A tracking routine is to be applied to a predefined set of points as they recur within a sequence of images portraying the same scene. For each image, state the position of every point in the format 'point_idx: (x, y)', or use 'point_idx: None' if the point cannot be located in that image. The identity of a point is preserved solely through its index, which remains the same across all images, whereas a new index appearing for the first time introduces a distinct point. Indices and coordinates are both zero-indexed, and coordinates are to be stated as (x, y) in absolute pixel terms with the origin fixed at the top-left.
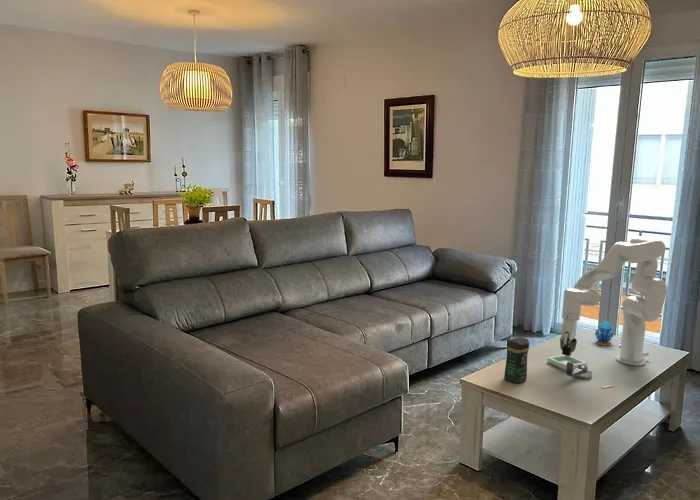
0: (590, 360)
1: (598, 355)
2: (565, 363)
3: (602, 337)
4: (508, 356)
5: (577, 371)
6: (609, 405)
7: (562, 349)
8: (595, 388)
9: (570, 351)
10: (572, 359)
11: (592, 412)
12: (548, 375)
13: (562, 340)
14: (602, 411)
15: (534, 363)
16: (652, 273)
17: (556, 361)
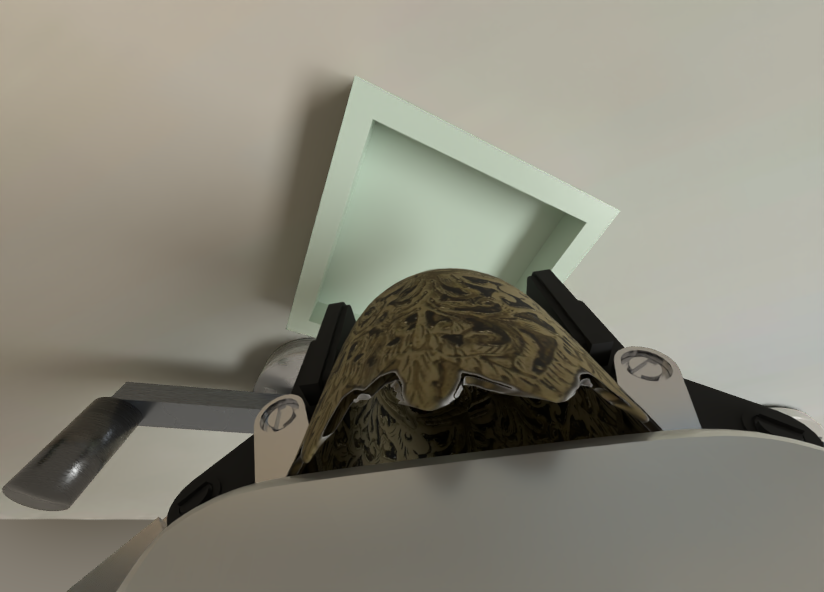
0: (652, 329)
1: (798, 330)
2: (438, 245)
3: None
4: None
5: (209, 428)
6: (127, 513)
7: (315, 343)
8: (222, 457)
9: (386, 391)
10: None
11: (2, 504)
12: (90, 242)
13: (290, 468)
14: (54, 514)
15: None
16: None
17: (316, 218)
